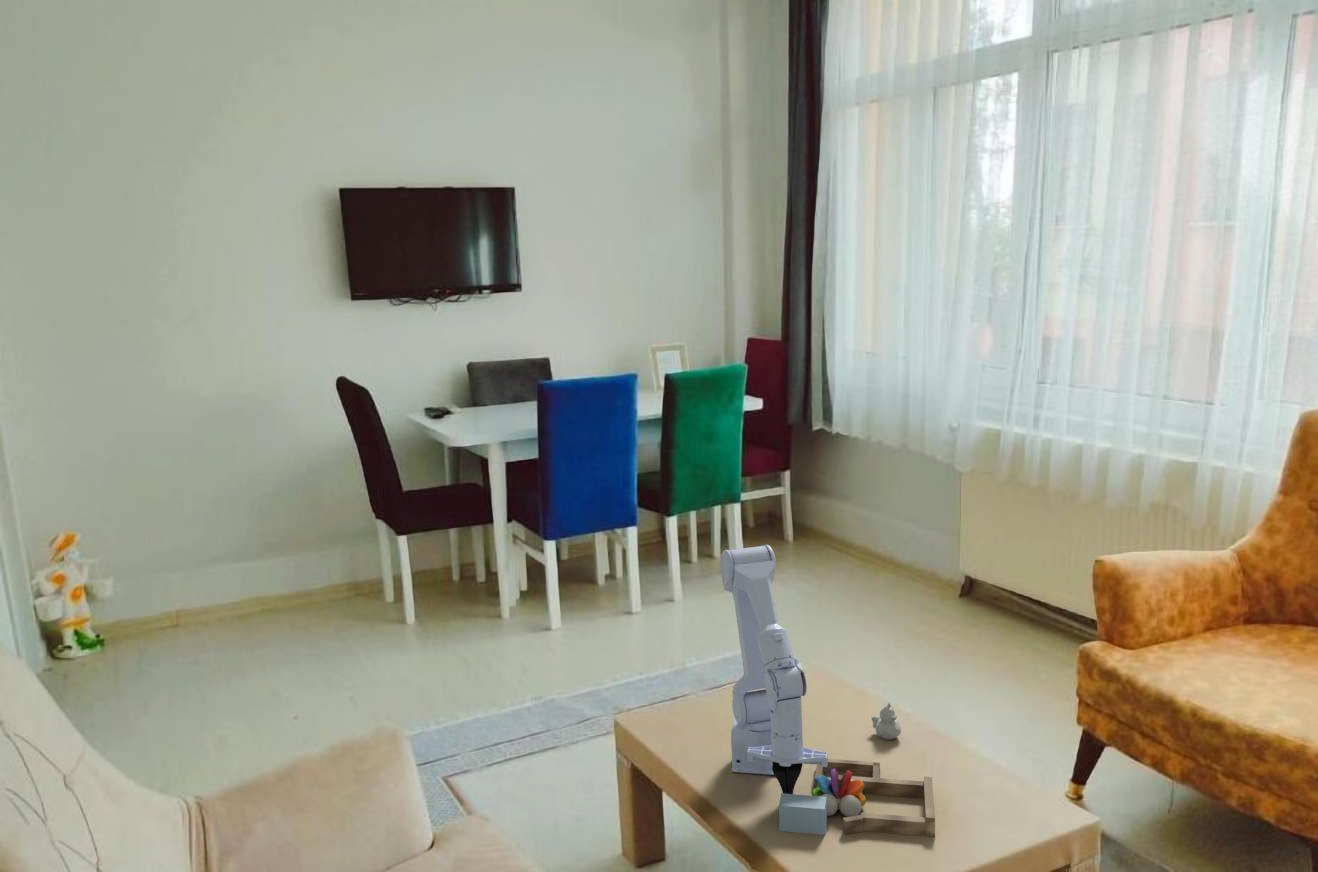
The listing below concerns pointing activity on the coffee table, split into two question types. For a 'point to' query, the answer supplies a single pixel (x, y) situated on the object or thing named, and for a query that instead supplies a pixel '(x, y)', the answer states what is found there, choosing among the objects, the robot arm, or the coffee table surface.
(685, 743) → the coffee table surface
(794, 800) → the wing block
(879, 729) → the grey figurine
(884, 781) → the frame
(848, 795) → the rainbow fan toy
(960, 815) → the coffee table surface
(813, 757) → the robot arm
